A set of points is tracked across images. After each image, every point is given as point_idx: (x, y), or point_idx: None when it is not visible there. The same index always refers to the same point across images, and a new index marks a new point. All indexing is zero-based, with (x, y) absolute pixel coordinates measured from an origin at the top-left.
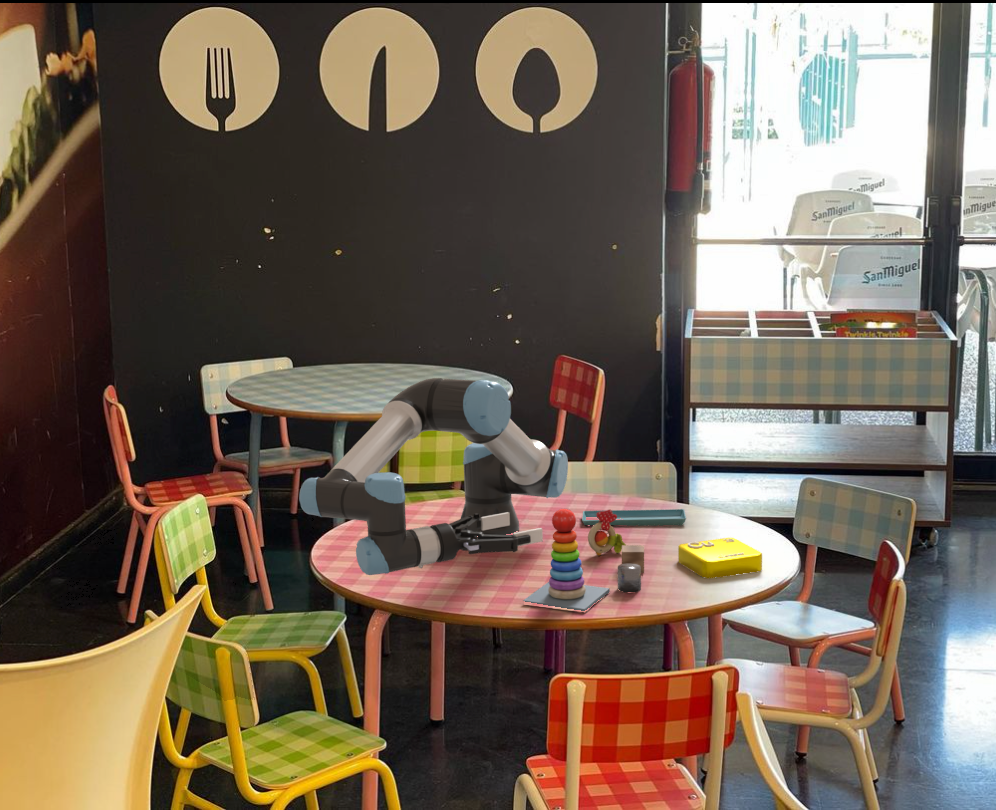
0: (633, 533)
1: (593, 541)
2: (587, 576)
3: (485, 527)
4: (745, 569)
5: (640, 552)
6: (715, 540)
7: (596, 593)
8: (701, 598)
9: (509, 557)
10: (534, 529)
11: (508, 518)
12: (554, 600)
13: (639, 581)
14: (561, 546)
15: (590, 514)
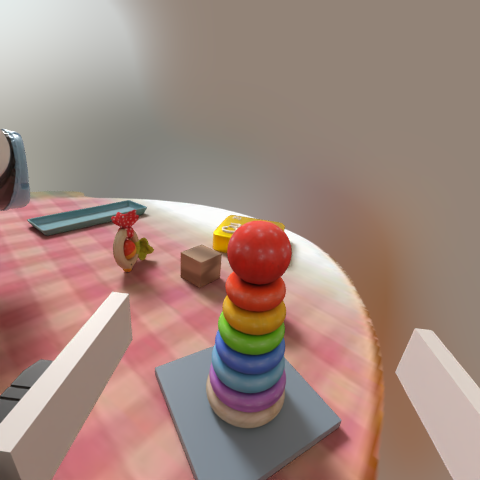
0: (116, 231)
1: (123, 256)
2: (175, 316)
3: (46, 471)
4: None
5: (218, 255)
6: (228, 220)
7: None
8: (331, 289)
9: None
10: (444, 357)
11: (127, 318)
12: (261, 437)
13: None
14: (276, 319)
15: (38, 221)
